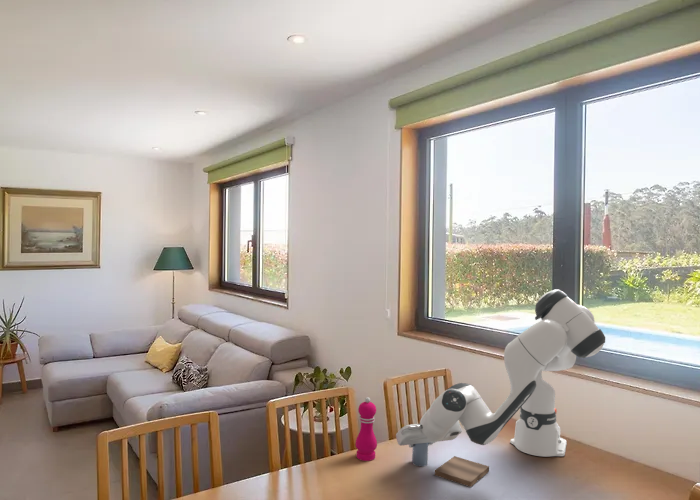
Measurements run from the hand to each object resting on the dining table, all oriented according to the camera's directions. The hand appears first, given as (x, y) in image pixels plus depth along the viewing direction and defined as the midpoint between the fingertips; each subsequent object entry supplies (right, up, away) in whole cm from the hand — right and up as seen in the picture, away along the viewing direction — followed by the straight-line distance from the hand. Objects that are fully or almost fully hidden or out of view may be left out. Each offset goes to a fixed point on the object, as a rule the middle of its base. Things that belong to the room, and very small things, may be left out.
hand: (419, 444), depth 169 cm
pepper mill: (-18, -5, +3) cm, 19 cm away
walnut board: (+12, -6, -7) cm, 16 cm away
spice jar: (0, -6, -1) cm, 6 cm away
